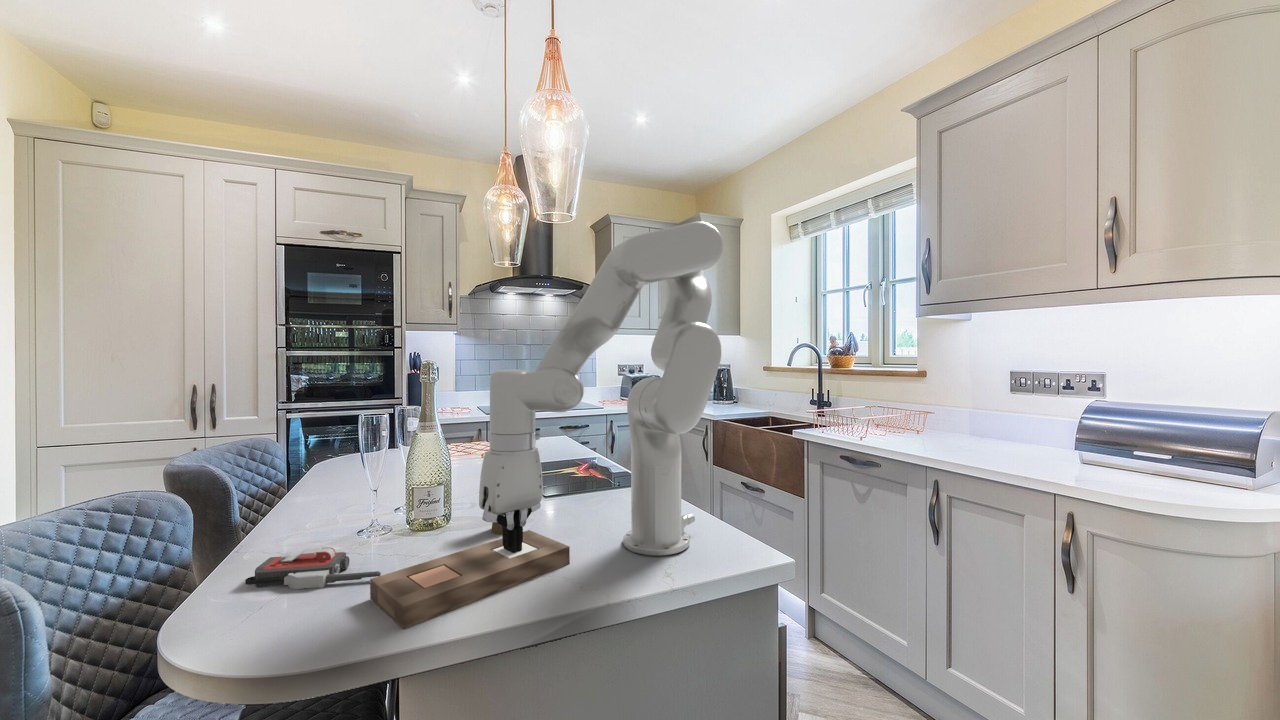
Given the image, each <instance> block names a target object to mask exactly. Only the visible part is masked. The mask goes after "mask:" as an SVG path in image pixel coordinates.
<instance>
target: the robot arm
mask: <svg viewBox="0 0 1280 720" xmlns="http://www.w3.org/2000/svg"><path fill="white" fill-rule="evenodd" d="M723 250H724V241H723V237H722V235H721V232H720V231H719V230H718V229H717V228H716V227H715V226H714V225H712V224H710V223H709V222H706V221H693V222H689V223H683V224H679V225H676V226H671V227H668V228H663V229H659V230H656V231H655V230H653V231H649V232H646V233H641V234H637V235H634V236H631V237H629V238H627V239H626V240H624V241H622V242H621V243H619V244H616V245H615V247H613V248H612V249H611V250H610V251H609V253H608V254H607V256H606V257H605V259H604V260H603V262H602V264H601V265H600V267H599V269H598V270H597V272H596V274H595V276H594V277H593V279H592V281H591V282H590V284H589V286H588V288H587V290H586V291H585V293H584V295H583V296H582V298H581V299H580V301H579V303H578V304H577V306H576V307H575V309H574V310H573V312H572V313H571V315H570V316H569V317H568V319H567V320H566V322H565V324H564V325H563V327H562V328H561V330H560V331H559V332H558V334H557V335H556V337H554V339H553V341H552V342H551V344H550V345H549V347H548V348H547V350H546V352H545V353H544V355H543V357H542V358H541V361H540V362H539V364H538V365H537V367H536V369H535V371H531V370H528V369H499V370H495V371H494V372H492V373H491V375H490V377H489V450H488V451H485V452H484V455H483V459H482V465H481V471H480V478H479V479H480V480H479V489H478V490H479V491H478V492H479V493H478V494H479V495H478V506H479V508H480V509H481V510H483V512H482V516H481V517H482V518H481V519H482V520H483V522H487V523H492V522H497V523H498V524H499V525H500V526H501V527H502V535H501V536H502V538H501V539H502V543H503V546H504V549H506V550H508V551H510V552H512V553H515V552H516V551H521V550H522V542H523V532H524V528H523V527H525V526H526V524H527V520H528V518H529V517H530V515H531V514H532V513H534V512H536V511H538V510H540V509H541V507H542V506H541V505H542V504H541V502H542V499H543V489H544V487H543V471H542V470H543V469H542V462H541V458H540V452H539V448H537V447H536V444H537V443H536V441H539V440H541V433H540V432H539V431H536V411H539V412H547V413H549V412H550V413H558V414H559V413H560V414H561V413H567V412H570V411H572V410H574V409H576V408H577V407H578V406H579V404H580V403H581V402H582V400H583V398H584V394H585V393H584V392H585V391H584V389H585V388H584V385H583V381H582V380H581V378H580V376H578V374H579V373H580V372H581V369H582V368H583V367H584V365H585V364H586V362H587V361H588V359H589V358H590V357H591V356H592V355H593V354H594V353H595V352H596V351H597V350H598V349H600V348H601V347H602V346H603V345H605V344H606V343H607V342H609V341H610V340H611V339H612V338H613V337H614V336H615V335H617V333H618V331H619V330H620V328H621V326H622V325H623V322H624V320H625V318H627V315H628V314H629V311H630V310H631V308H632V306H633V304H634V302H635V301H636V300H637V297H638V296H639V294H640V292H641V290H642V289H643V288H644V286H647V285H650V284H652V283H653V284H654V283H657V282H661V281H665V280H666V283H667V287H668V294H667V296H668V297H667V301H666V304H665V308H664V311H663V314H662V317H661V320H660V322H659V325H658V328H657V330H656V333H655V336H654V338H653V341H652V343H651V347H650V348H651V349H650V357H651V360H652V362H653V364H654V365H655V366H656V368H657V369H659V370H660V371H663V374H662V376H661V377H660V376H659V377H658V376H652V377H645V378H643V379H641V380H639V381H638V382H636V383H635V384H634V385H633V386H632V388H631V389H630V391H629V394H628V396H627V402H626V409H627V410H626V411H627V419H628V420H627V421H628V427H629V434H630V475H631V476H630V479H631V480H630V485H631V486H630V487H631V488H630V490H631V491H630V492H631V493H630V495H631V497H630V498H631V499H630V500H631V502H630V503H631V510H630V513H631V519H630V520H631V521H630V524H631V530H630V531H627V532H626V533H625V534H624V535H623V538H622V539H623V540H622V541H623V546H624V547H625V548H626V549H627V550H629V551H630V552H633V553H636V554H640V555H645V556H652V557H653V556H655V557H656V556H670V555H675V554H678V553H682V552H683V551H684V550H686V549H688V547H689V546H690V542H691V541H690V540H691V539H690V536H689V535H688V534H687V532H685V528H686V527H687V526H689V525H691V524H693V523H695V521H696V517H695V515H694V514H693V513H692V512H691V513H687V514H684V515H682V445H681V443H682V442H681V437H680V435H683V434H686V433H688V432H690V431H691V430H692V429H694V428H695V426H696V425H697V424H698V423H699V422H700V420H701V418H702V416H703V414H704V411H705V409H706V407H707V404H708V400H709V398H710V396H711V395H710V394H711V391H712V388H713V386H714V383H715V380H716V377H717V374H718V372H719V371H718V370H719V368H720V365H721V361H722V345H721V344H722V343H721V340H720V339H721V338H720V337H719V336H718V334H717V332H716V330H715V329H713V328H712V327H711V326H710V325H709V324H707V323H708V319H709V316H710V313H711V307H712V301H713V298H712V297H713V296H712V290H711V286H710V284H709V280H708V279H707V275H706V273H705V272H704V270H707V269H710V268H712V267H713V266H714V265H716V263H718V261H719V260H720V259H721V257H722V254H723Z"/></svg>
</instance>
